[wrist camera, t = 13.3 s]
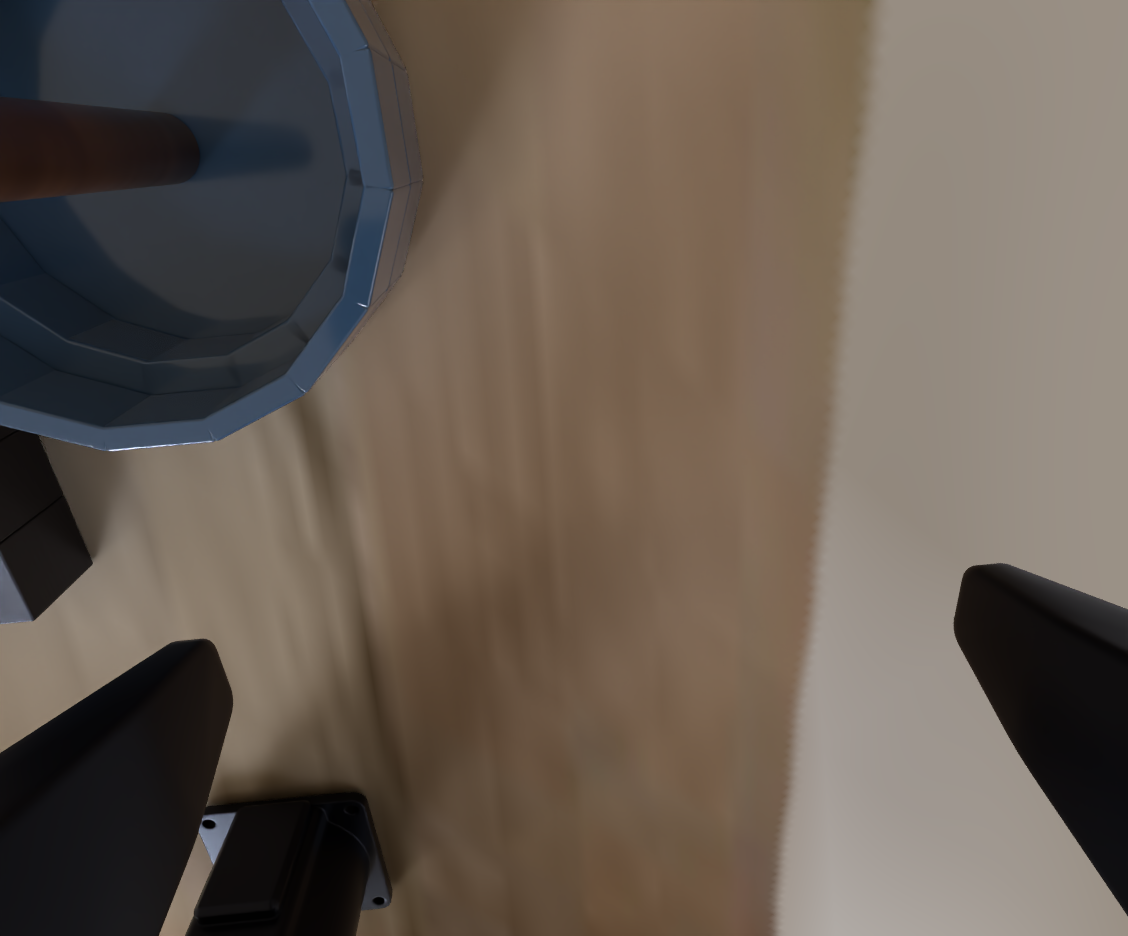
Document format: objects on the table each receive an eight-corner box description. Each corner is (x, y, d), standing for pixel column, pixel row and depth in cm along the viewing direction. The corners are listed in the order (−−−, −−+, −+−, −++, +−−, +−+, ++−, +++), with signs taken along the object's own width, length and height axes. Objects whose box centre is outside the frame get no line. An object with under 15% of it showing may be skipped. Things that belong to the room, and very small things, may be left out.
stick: (209, 181, 17) (-137, 218, 8) (144, 186, 17) (-274, 229, 8) (189, 109, 17) (-210, 63, 8) (122, 115, 17) (-359, 75, 8)
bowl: (453, 361, 20) (432, 423, 16) (30, 398, 20) (-115, 472, 15) (372, -187, 15) (306, -332, 10) (-201, -143, 15) (-522, -271, 10)
